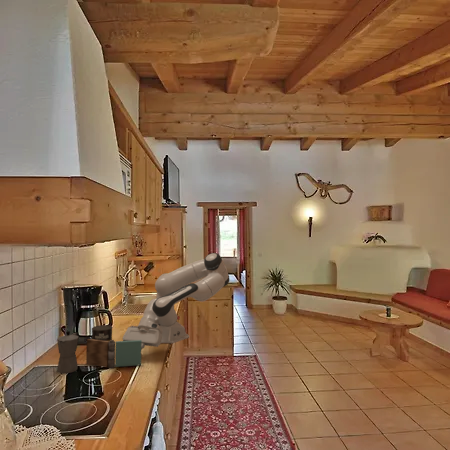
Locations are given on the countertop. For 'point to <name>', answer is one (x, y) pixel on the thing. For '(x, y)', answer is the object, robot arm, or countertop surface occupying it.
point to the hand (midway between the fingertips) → (136, 352)
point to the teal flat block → (126, 353)
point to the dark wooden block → (99, 353)
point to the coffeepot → (67, 353)
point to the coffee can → (102, 332)
